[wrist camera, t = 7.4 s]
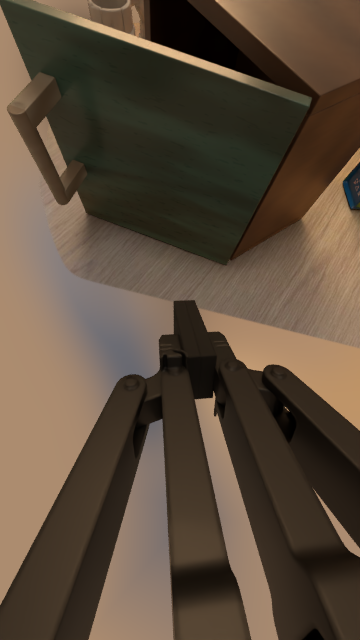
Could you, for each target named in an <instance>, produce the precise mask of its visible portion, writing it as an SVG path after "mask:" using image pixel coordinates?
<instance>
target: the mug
mask: <svg viewBox="0 0 360 640" xmlns="http://www.w3.org/2000/svg"><path fill="white" fill-rule="evenodd" d="M88 5H89V11H90V17H91V21H93V22H96V23H99V24H102V25H105V26H108V27H110V28H113V29H116V30H119V31H122V32H125V33H128V34H131V35H133V36H135V27H134V24H133V21H132V10H131V7H132V6H134V5H135V7H136V10H137V12H138V13H139V17H140V33H139V38H142V39H145V25H144V1H143V0H88Z"/></svg>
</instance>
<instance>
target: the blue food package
mask: <svg viewBox="0 0 360 640" xmlns="http://www.w3.org/2000/svg"><path fill="white" fill-rule="evenodd" d="M343 185H344V189H345V192H346V195H347V199H348V202H349V205H350V208H351V209H360V162H359V163H358V165H357V166H356V167H355V168H354V169H353V170H352V171H351V173H350V174H349V175H348V176H347V177H346V178H345V179H344V181H343Z"/></svg>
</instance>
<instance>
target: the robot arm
mask: <svg viewBox="0 0 360 640" xmlns="http://www.w3.org/2000/svg"><path fill="white" fill-rule="evenodd" d="M159 354H160V370H159V371H158V373H157V374H155V375H154V376H152V377H150V378H147V379H145V378H143V377H142V376H139V375H136V374H134V375H128V376H124V377H123V378H121V379H120V380H119V381H118V382H117V384H116V386H115V388H114V390H113V391H112V394H111V395H110V397H109V399H108V401H107V403H106V405H105V407H104V409H103V411H102V412H101V414H100V416H99V418H98V420H97V422H96V424H95V426H94V428H93V430H92V431H91V433H90V435H89V437H88V439H87V441H86V443H85V445H84V447H83V449H82V451H81V453H80V454H79V456H78V458H77V460H76V462H75V464H74V466H73V468H72V470H71V472H70V474H69V475H68V477H67V479H66V481H65V483H64V485H63V487H62V489H61V491H60V493H59V494H58V497H57V498H56V500H55V502H54V504H53V506H52V508H51V510H50V512H49V514H48V516H47V518H46V520H45V521H44V523H43V525H42V527H41V529H40V531H39V533H38V535H37V537H36V539H35V540H34V542H33V544H32V546H31V548H30V550H29V552H28V554H27V556H26V557H25V559H24V561H23V563H22V565H21V567H20V569H19V571H18V573H17V575H16V577H15V579H14V580H13V582H12V584H11V586H10V588H9V590H8V592H7V594H6V596H5V598H4V600H3V601H2V603H1V605H0V640H88V639H89V635H90V632H91V628H92V625H93V621H94V618H95V614H96V611H97V607H98V603H99V600H100V597H101V593H102V590H103V586H104V583H105V579H106V576H107V572H108V568H109V565H110V562H111V558H112V555H113V551H114V548H115V544H116V541H117V537H118V533H119V530H120V527H121V523H122V520H123V516H124V513H125V509H126V505H127V502H128V499H129V495H130V492H131V488H132V485H133V481H134V478H135V474H136V471H137V467H138V464H139V460H140V457H141V453H142V450H143V446H144V443H145V439H146V435H147V432H148V429H149V424H150V423H152V422H155V421H158V420H160V419H163V438H164V457H165V477H166V497H167V517H168V534H169V535H168V536H169V556H170V575H171V595H172V615H173V635H174V636H173V637H174V640H251V636H250V632H249V627H248V623H247V619H246V614H245V610H244V606H243V601H242V598H241V593H240V589H239V586H238V583H237V580H236V577H235V576H234V574H233V572H232V570H231V567H230V564H229V560H228V556H227V551H226V547H225V542H224V537H223V532H222V527H221V523H220V518H219V513H218V508H217V504H216V499H215V494H214V490H213V485H212V480H211V475H210V471H209V466H208V461H207V457H206V452H205V447H204V442H203V438H202V433H201V428H200V424H199V419H198V414H197V409H196V405H195V400H194V399H203V398H213V390H214V393H215V396H216V398H215V408H214V416H216V414H218V416H219V420H220V423H221V427H222V430H223V434H224V437H225V441H226V444H227V447H228V451H229V454H230V457H231V461H232V464H233V467H234V470H235V474H236V478H237V481H238V484H239V488H240V490H241V494H242V498H243V501H244V505H245V507H246V511H247V514H248V518H249V521H250V525H251V528H252V531H253V535H254V538H255V541H256V545H257V548H258V551H259V555H260V558H261V562H262V565H263V568H264V572H265V575H266V579H267V582H268V585H269V589H270V593H271V598H272V608H273V617H274V622H275V627H276V630H277V635H278V639H279V640H360V557H358V556H356V555H355V554H353V553H351V552H350V551H349V550H348V549H347V548H346V547H345V546H344V544H343V542H342V541H341V539H340V537H339V535H338V534H337V532H336V530H335V528H334V526H333V524H332V523H331V521H330V519H329V517H328V515H327V513H326V511H325V510H324V508H323V506H322V504H321V502H320V501H319V499H318V497H317V495H316V493H317V494H318V495H319V496H320V498H321V499H322V500H323V501H324V503H325V504H326V505H327V507H328V508H329V509H330V511H331V512H332V513H333V514H334V516H335V517H336V518H337V520H338V521H339V522H340V523H341V525H342V526H343V527H344V529H345V530H346V531H347V533H348V534H349V535H350V536H351V538H352V539H353V540H354V542H356V544H357V545H358V546H359V548H360V431H359V430H358V429H357V428H356V427H355V426H353V425H352V424H351V423H350V422H349V421H348V420H347V419H345V418H344V417H343V416H342V415H341V414H339V413H338V412H337V411H336V410H335V409H334V408H332V407H331V406H330V405H329V404H328V403H327V402H326V401H324V400H323V399H322V398H321V397H320V396H319V395H317V394H316V393H315V392H314V391H313V390H312V389H310V388H309V387H308V386H307V385H306V384H305V383H304V382H302V381H301V380H300V379H299V378H298V377H297V376H295V375H294V374H293V373H292V372H291V371H289V370H288V369H287V368H285V367H282V366H280V365H268V366H266V367H265V368H264V370H263V372H262V371H256V370H251V369H248V368H247V367H246V365H245V364H244V363H243V362H241V361H239V360H237V359H236V357H235V355H234V353H233V351H232V350H231V348H230V346H229V344H228V342H227V340H226V338H225V336H224V335H223V334H221V333H220V332H207V330H206V327H205V325H204V322H203V320H202V317H201V315H200V313H199V310H198V308H197V305H196V303H195V300H188V301H174V334H173V335H162V336H161V337H160V339H159ZM285 407H286V408H287V409H288V410H289V411H290V412H289V411H288V410H287V409H286V408H285ZM312 487H313V488H312ZM313 489H314V490H315V491H316V493H315V491H314V490H313Z"/></svg>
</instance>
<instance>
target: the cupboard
mask: <svg viewBox="0 0 360 640" xmlns="http://www.w3.org/2000/svg"><path fill="white" fill-rule="evenodd" d="M143 1H144V25H145V40H148V41H151V42H153V43H156V44H159V45H162V46H165V47H168V48H171V49H174V50H176V51H179V52H182V53H185V54H188V55H191V56H194V57H196V58H199V59H202V60H205V61H208V62H211V63H214V64H217V65H219V66H222V67H225V68H228V69H231V70H234V71H237V72H240V73H242V74H245V75H248V76H251V77H254V78H257V79H260V80H262V81H265V82H268V83H271V84H274V85H277V86H280V87H283V88H285V89H288V90H291V91H294V92H297V93H300V94H303V95H305V96H308V97H311V98H312V100H311V104H310V107H309V109H308V111H307V113H306V115H305V117H304V118H303V120H302V122H301V124H300V126H299V128H298V130H297V132H296V134H295V136H294V137H293V139H292V141H291V143H290V145H289V147H288V149H287V151H286V153H285V155H284V156H283V158H282V160H281V162H280V164H279V166H278V168H277V170H276V172H275V174H274V175H273V177H272V179H271V181H270V183H269V185H268V187H267V189H266V191H265V193H264V194H263V196H262V198H261V200H260V202H259V204H258V206H257V208H256V210H255V212H254V213H253V215H252V217H251V219H250V221H249V223H248V225H247V227H246V229H245V231H244V232H243V234H242V236H241V238H240V240H239V242H238V244H237V246H236V248H235V250H234V251H233V253H232V255H231V257H230V260H233V259H235V258H236V257H238V256H240V255H241V254H243V253H245V252H246V251H248V250H250V249H251V248H253V247H255V246H256V245H258V244H260V243H261V242H263V241H265V240H266V239H268V238H270V237H271V236H273V235H275V234H276V233H278V232H280V231H281V230H283V229H285V228H286V227H288V226H290V225H291V224H293V223H295V222H296V221H298V220H300V219H301V218H302V217H303V216H304V215H305V213H306V212H307V211H308V210H309V209H310V207H311V206H312V205H313V204H314V202H315V201H316V200H317V199H318V198H319V196H320V195H321V194H322V193H323V191H324V190H325V189H326V188H327V187H328V185H329V184H330V183H331V182H332V180H333V179H334V178H335V177H336V176H337V174H338V173H339V172H340V171H341V170H342V168H343V167H344V166H345V165H346V163H347V162H348V161H349V160H350V159H351V157H352V156H353V155H354V154H355V152H356V151H357V150H358V149H359V148H360V0H143Z"/></svg>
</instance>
